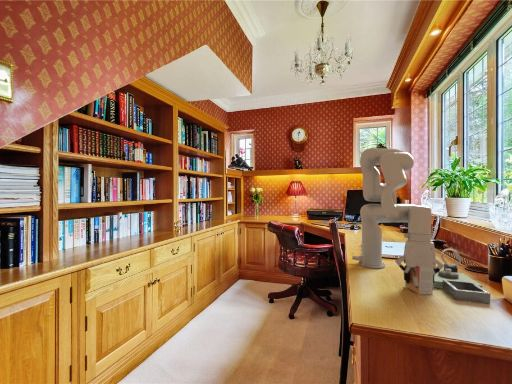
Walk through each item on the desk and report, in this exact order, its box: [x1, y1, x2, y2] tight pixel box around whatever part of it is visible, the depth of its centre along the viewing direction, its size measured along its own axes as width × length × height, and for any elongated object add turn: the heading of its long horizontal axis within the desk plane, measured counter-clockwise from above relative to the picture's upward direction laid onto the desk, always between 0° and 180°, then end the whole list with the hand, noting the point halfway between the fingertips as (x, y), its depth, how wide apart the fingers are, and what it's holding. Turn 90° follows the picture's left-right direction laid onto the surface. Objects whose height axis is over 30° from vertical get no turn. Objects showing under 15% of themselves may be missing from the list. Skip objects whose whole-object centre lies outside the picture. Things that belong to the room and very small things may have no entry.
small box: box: [404, 265, 434, 295], centre depth 102 cm, size 8×6×10 cm
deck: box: [433, 268, 483, 289], centre depth 111 cm, size 16×16×6 cm
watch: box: [440, 248, 462, 273], centre depth 126 cm, size 6×8×11 cm
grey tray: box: [442, 279, 491, 305], centre depth 97 cm, size 10×12×4 cm
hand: (418, 283), depth 102 cm, fingers closed on small box, 7 cm apart
